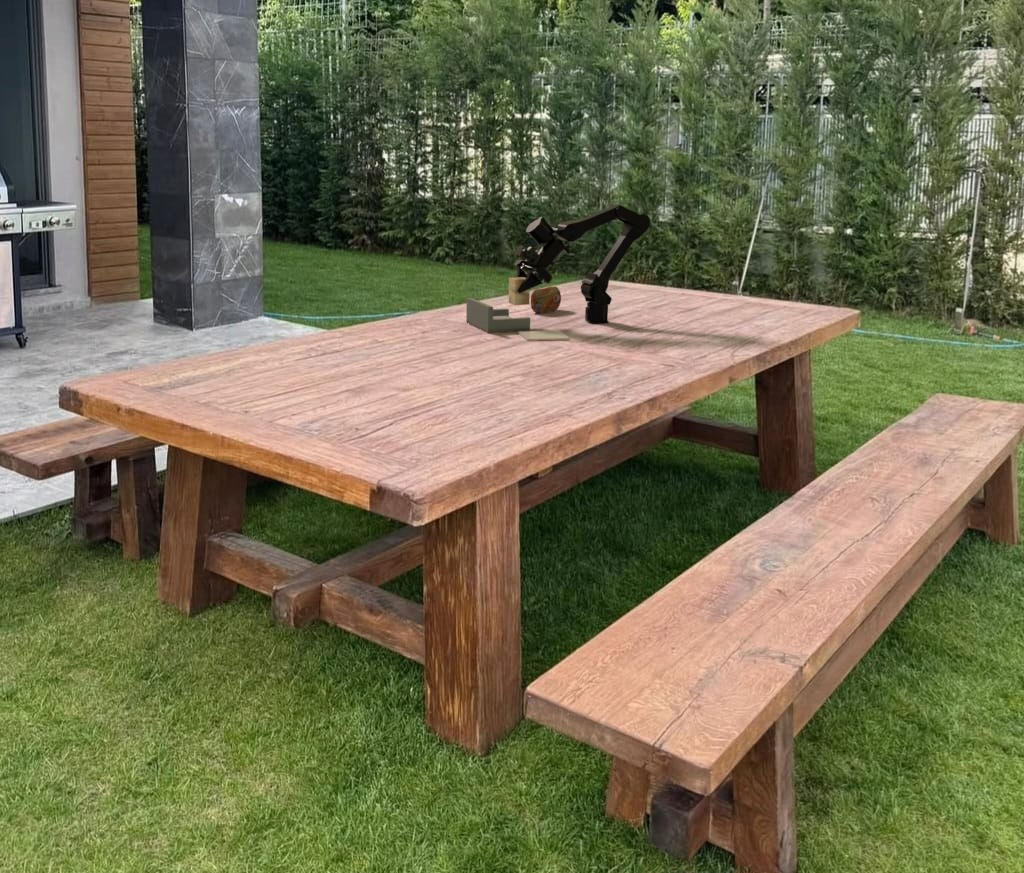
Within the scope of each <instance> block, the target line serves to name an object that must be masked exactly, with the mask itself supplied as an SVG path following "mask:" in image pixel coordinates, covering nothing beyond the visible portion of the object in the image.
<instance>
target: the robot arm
mask: <svg viewBox="0 0 1024 873" xmlns="http://www.w3.org/2000/svg"><path fill="white" fill-rule="evenodd" d="M615 220H618V221H620V222H621V223H623V224H622V228H621V232H620V235H619V237H618V238H617V240H616V242H615V243H614V245H613V246H612V248H611V249H610V251H609V252H608V253H607V255H606V257H605V258H604V259H603V261H602V262H601V264H600V265H599V267H598V269H597V270H596V271H594V272H590V271H587V273H586V275H585V277H584V279H582V281H581V286H580V291H581V294H582V296H584V300H585V302H586V304H587V305H586V307H585V310H584V311H585V314H584V317H585V318H584V319H585V321H586V322H588V323H589V322H590V323H589V324H600V323H599V322H603V323H602V324H608V322H609V323H610V321H609V320H608V318H609V305H611V302H612V299H613V298H612V297H611V296H610V294H609V293H607V290H608V287H609V284H610V283H609V281H610V278H611V276H612V275H613V273H614V272H615V270H616V269H617V267H618V266H619V264H620V263H621V261H622V260H623V259H624V256H626V254H627V252H629V249H630V248H631V246H632V245H633V243H634V242H635V241H636V240H638V239H639V238H641V237H642V236H643V235H644V234H646V232H647V231H648V230H649V229H650V227H651V219H650V217H649V216H648V214H645V213H639V212H635V211H633V210H630V209H629V208H626V207H625V206H623V205H621V204H612V205H611V206H608V207H607V208H604V209H602V210H599V211H597V212H594V213H592V214H589V215H588V216H585V217H583V218H579V219H574V220H573V219H572V220H567V221H563V222H559V223H558V224H557V226H551V225H550V223H549V222H547V220H546V218H544V217H543V216H539V217H538V219H536V220H534V221H532V222H531V223H529V225H528V226H527V228H526V229H525V232H526V233H527V234H528V235H529V236H530V237H531V238H532V240H534V241H535V243H536V244H538V245H542V247H541V248H540V249H536V248H535V247H533V246H529V247H525V246H522V245H518V247H517V250H516V252H515V256H516V257H520V258H522V259H516V260H515V261H514V263H513V266H515V267H516V271H517V272H516V277H525V278H526V279H525V280H524V282H523V283H522V284H521V286H520V287H519V289H518V292H519V293H522V292H524V291H526V290H528V289H533V288H535V287H537V286H540V285H543V284H547V285H548V284H549V283H551V282H552V280H553V275H552V274H551V273H550V272H549V271H548V268H550V267H553V266H554V265H555V263H554V261H556V260H557V259H558V257H559V256H560V255H561V254H562V253H564V254H567V255H569V254H571V253H570V244H565V243H564V242H563V241H565V242H569V243H571V242H572V243H573V242H575V241H577V240H579V239H580V238H582V237H583V236H584V235H585V234H586V233H587V232H589V231H591V230H593V229H595V228H598V227H600V226H602V225H605V224H608V223H610V222H613V221H615ZM556 237H557V238H556ZM524 259H525V260H524Z"/></svg>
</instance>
